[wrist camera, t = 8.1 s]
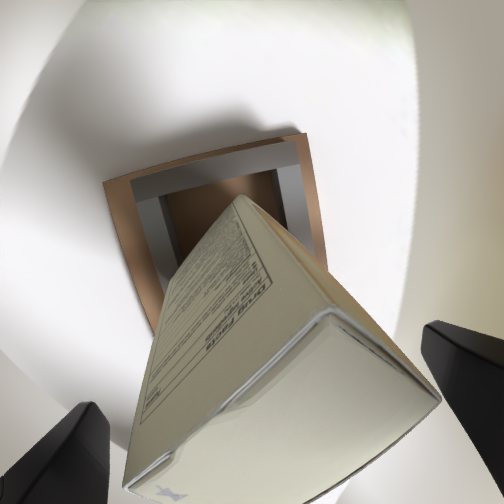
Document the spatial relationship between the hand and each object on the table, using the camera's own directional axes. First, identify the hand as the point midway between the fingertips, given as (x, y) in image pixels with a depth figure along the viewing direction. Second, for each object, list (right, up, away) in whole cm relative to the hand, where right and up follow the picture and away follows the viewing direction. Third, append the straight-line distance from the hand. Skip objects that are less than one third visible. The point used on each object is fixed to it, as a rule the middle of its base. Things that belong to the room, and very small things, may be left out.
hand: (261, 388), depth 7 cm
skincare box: (-1, +3, +9) cm, 10 cm away
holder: (-2, +3, +12) cm, 13 cm away
